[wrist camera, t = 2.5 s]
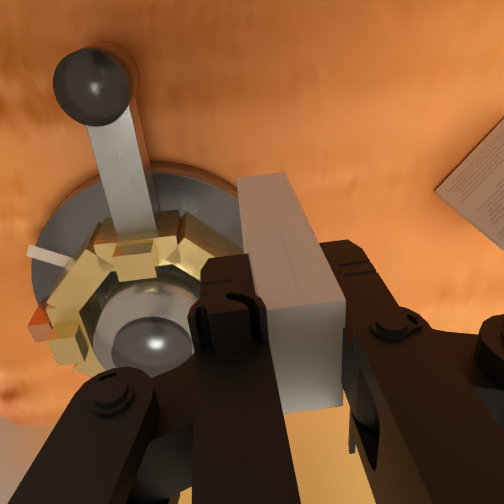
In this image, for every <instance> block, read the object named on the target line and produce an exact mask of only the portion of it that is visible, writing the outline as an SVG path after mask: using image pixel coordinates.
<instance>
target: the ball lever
mask: <svg viewBox="0 0 504 504" xmlns="http://www.w3.org/2000/svg"><path fill="white" fill-rule="evenodd" d="M139 84H140V75H139V70H138V67H137V65H136V63H135V61H134V59H133V58H132V56H131V55H130V54H129V53H128V52H127V51H126V50H125V49H123V48H122V47H120V46H118V45H116V44H113V43H110V42H97V43H94V44H91V45H89V46H87V47H84V48H82V49H80V50H78V51H76V52H73V53H71V54H69V55H67V56H66V57H65V58H63V59H62V60H61V61H60V63H59V64H58V65H57V67H56V69H55V72H54V77H53V89H54V93H55V96H56V99H57V101H58V103H59V105H60V106H61V108H62V109H63V110H64V111H65V112H66V113H67V114H68V115H69V116H70V117H71V118H72V119H74V120H76V121H77V122H79V123H81V124H84V125H86V127H87V130H88V134H89V137H90V141H91V145H92V148H93V152H94V155H95V159H96V162H97V166H98V170H99V173H100V177H101V180H102V184H103V187H104V191H105V195H106V198H107V202H108V205H109V209H110V212H111V216H112V217H109V218H105V220H104V222H103V224H102V223H100V222H98V223H97V225H96V226H95V227H94V229H93V230H92V232H91V233H90V234H89V236H88V237H87V238H86V240H85V241H84V242H83V244H82V245H81V247H80V248H79V249H78V251H77V252H76V253H75V255H74V256H73V257H72V259H71V260H70V261H69V263H68V264H67V266H66V267H65V268H64V270H63V271H62V273H61V275H60V277H59V279H58V281H57V283H56V285H55V287H54V289H53V290H52V292H51V294H50V296H49V298H48V300H47V302H46V303H48V305H47V307H46V312H47V314H48V317H49V319H50V321H51V324H52V326H53V329H52V331H51V333H50V335H49V337H48V340H47V341H48V344H49V346H50V348H51V350H52V353H53V355H54V357H55V360H56V362H57V364H58V366H60V365H68V364H75V367H74V369H75V370H77V371H79V372H81V373H84V374H86V375H88V376H90V377H94V376H95V375H97V374H99V373H101V372H104V371H106V370H105V369H104V368H103V367H102V366H101V364H100V363H99V361H98V360H97V358H96V356H95V353H94V349H93V337H94V333H95V330H96V327H97V324H98V321H99V318H100V314H101V311H102V310H101V307H100V304H99V301H98V298H97V295H96V292H95V291H96V289H97V288H98V287H99V286H100V284H101V283H102V282H103V281H104V279H105V278H106V277H107V275H108V274H109V273H110V272H112V271H116V272H117V276H118V279H119V282H123V281H131V280H139V279H148V278H156V277H157V274H158V268H159V266H161V265H170V264H173V265H175V266H177V267H178V268H180V269H182V270H183V271H185V272H187V273H188V274H190V275H191V276H193V277H195V278H196V279H198V280H200V270H201V269H202V267H203V266H204V264H205V263H206V261H207V260H208V259H209V258H214V257H222V256H230V255H238V254H244V253H243V249H242V248H240V247H239V246H237V245H236V244H234V243H233V242H231V241H230V240H228V239H227V238H225V237H224V236H223V235H221V234H220V233H218V232H217V231H215V230H214V229H212V228H211V227H209V226H208V225H206V224H205V223H203V222H202V221H200V220H199V219H197V218H196V217H194V216H193V215H192V214H190V213H189V212H186V213H185V214H184V215H183V217H182V218H181V217H180V212H179V209H178V210H169V211H161V212H160V209H159V205H158V200H157V195H156V191H155V186H154V181H153V177H152V172H151V167H150V163H149V158H148V153H147V149H146V144H145V139H144V135H143V130H142V125H141V121H140V116H139V111H138V107H137V102H136V97H135V95H136V93H137V91H138V88H139Z"/></svg>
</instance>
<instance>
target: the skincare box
mask: <svg viewBox="0 0 504 504" xmlns="http://www.w3.org/2000/svg"><path fill="white" fill-rule="evenodd" d="M435 193H436V194H437V195H438V196H439V197H440V198H441V199H442V200H443V201H445V202H446V203H447V204H448V205H449V206H450V207H452V208H453V209H454V210H455V211H456V212H458V213H459V214H460V215H461V216H462V217H464V218H465V219H466V220H467V221H468V222H470V223H471V224H472V225H473V226H474V227H476V228H477V229H478V230H479V231H480V232H481V233H483V234H484V235H485V236H486V237H487V238H489V239H490V240H491V241H492V242H493V243H495V244H496V245H497V246H498V247H499V248H501V249H502V250H503V251H504V119H503V120H502V121H501V122H500V123H499V124H498V125H497V126H496V127H495V128H494V129H493V131H492V132H491V133H490V134H489V135H488V136H487V137H486V138H485V139H484V140H483V141H482V142H481V143H480V144H479V145H478V146H477V147H476V148H475V149H474V150H473V151H472V153H471V154H470V155H469V156H468V157H467V158H466V159H465V160H464V161H463V162H462V163H461V164H460V165H459V166H458V167H457V168H456V169H455V170H454V171H453V172H452V173H451V174H450V176H449V177H448V178H447V179H446V180H445V181H444V182H443V183H442V184H441V185H440V186H439V187H438V188H437V189H436V190H435Z"/></svg>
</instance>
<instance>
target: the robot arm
mask: <svg viewBox="0 0 504 504" xmlns="http://www.w3.org/2000/svg"><path fill="white" fill-rule="evenodd" d="M236 182H237V191H238V200H239V209H240V218H241V227H242V236H243V245H244V254H238V255H230V256H222V257H214V258H209V259H208V260H207V261H206V263H205V264H204V266H203V267H202V269H201V270H200V285H201V286H200V299H198V300H197V301H196V302H195V303H194V304H193V305H192V306H191V307H190V310H189V313H188V316H187V319H188V324H189V329H190V334H191V339H192V344H193V348H194V353H193V354H192V355H191V356H190V358H189V359H188V360H186V361H185V362H184V363H182V364H181V365H180V366H178V367H176V368H174V369H172V370H170V371H167V372H165V373H162V374H160V375H157V376H155V377H152V378H150V376H149V375H148V374H146V373H145V372H144V371H142V370H141V369H137V368H133V367H119V368H112V369H109V370H107V371H104V372H101V373H99V374H97V375H95V376H94V377H92V378H91V379H90V380H88V381H87V382H85V383H84V384H83V385H82V386H81V388H80V389H79V390H78V391H77V392H76V393H75V395H74V396H73V398H72V399H71V401H70V403H69V404H68V406H67V408H66V409H65V411H64V412H63V414H62V416H61V417H60V419H59V421H58V422H57V424H56V425H55V427H54V429H53V431H52V432H51V434H50V435H49V437H48V439H47V440H46V442H45V443H44V445H43V447H42V448H41V450H40V452H39V453H38V455H37V457H36V458H35V460H34V461H33V463H32V465H31V466H30V468H29V470H28V471H27V473H26V475H25V476H24V478H23V479H22V481H21V483H20V484H19V486H18V487H17V489H16V491H15V492H14V494H13V496H12V497H11V499H10V500H9V502H8V504H178V501H179V497H180V492H181V491H184V490H186V489H187V488H189V487H192V504H301V501H300V497H299V491H298V486H297V481H296V476H295V471H294V466H293V461H292V456H291V451H290V446H289V440H288V436H287V431H286V425H285V420H284V415H283V414H288V413H295V412H303V411H309V410H316V409H324V408H331V407H338V406H343V389H344V391H345V394H346V397H347V400H348V403H349V405H350V419H349V442H348V444H349V453H350V454H352V453H355V443H356V446H357V449H358V452H359V455H360V458H361V461H362V464H363V467H364V470H365V473H366V476H367V479H368V481H369V484H370V487H371V490H372V493H373V496H374V499H375V502H376V504H504V314H502V315H496V316H492V317H490V318H489V319H487V320H485V321H483V323H482V326H481V328H480V330H479V335H476V334H465V333H454V332H446V331H440V330H435V329H432V328H431V327H430V325H429V324H428V323H427V322H426V321H425V320H424V319H423V318H422V317H421V316H420V315H419V314H418V313H416V312H414V311H411V310H409V309H407V308H404V307H400V306H399V305H398V304H397V302H396V301H395V299H394V297H393V296H392V294H391V293H390V291H389V290H388V288H387V287H386V285H385V283H384V282H383V280H382V279H381V277H380V276H379V274H378V273H376V269H375V268H374V266H373V265H372V263H370V260H369V259H368V257H367V255H366V254H365V252H364V251H363V249H362V248H360V247H359V246H357V245H356V244H354V243H352V242H351V241H349V240H340V241H332V242H323V243H318V240H317V238H316V236H315V234H314V232H313V230H312V228H311V226H310V224H309V222H308V220H307V217H306V215H305V213H304V211H303V209H302V207H301V205H300V203H299V201H298V199H297V197H296V195H295V192H294V190H293V188H292V186H291V184H290V182H289V180H288V178H287V176H286V174H285V172H284V173H275V174H266V175H258V176H249V177H241V178H236Z"/></svg>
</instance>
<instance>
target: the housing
mask: <svg viewBox="0 0 504 504" xmlns="http://www.w3.org/2000/svg"><path fill="white" fill-rule="evenodd" d="M149 163H150V167H151V172H152V177H153V181H154V186H155V191H156V195H157V200H158V205H159V209H160V212H161V211H169V210H178V209H179V212H180V217H181V218H182V217H183V215H184V214H185V213H186V212H189V213H190V214H192V215H193V216H194V217H196V218H197V219H199V220H200V221H202V222H203V223H205V224H206V225H208V226H209V227H211V228H212V229H214V230H215V231H217V232H218V233H220V234H221V235H223V236H224V237H225V238H227V239H228V240H230V241H231V242H233V243H234V244H236V245H237V246H239V247H240V248H242V249H243V253H244V245H243V236H242V227H241V218H240V209H239V200H238V191H237V188H236V187H234V186H233V185H231V184H230V183H228V182H227V181H225V180H224V179H222V178H220V177H217V176H215V175H213V174H211V173H209V172H207V171H204V170H201V169H198V168H195V167H191V166H187V165H182V164H177V163H167V162H149ZM109 217H112V216H111V212H110V209H109V205H108V202H107V198H106V195H105V191H104V187H103V184H102V180H101V177H100V174H98V175H96V176H94V177H92V178H90V179H89V180H87V181H86V182H84V183H83V184H81V185H80V186H78V187H77V188H76V189H75V190H74V191H72V192H71V193H70V194H69V195H68V196H67V197H66V198H65V199H64V201H63V202H62V203H61V204H60V206H59V207H58V208H57V209H56V211H55V212H54V214H53V215H52V217H51V218H50V220H49V221H48V222H47V224H46V226H45V227H44V229H43V231H42V233H41V234H40V236H39V238H38V241H37V244H36V245H33V244H29V247H28V251H27V255H26V256H29V257H32V258H33V260H32V284H33V289H34V294H35V297H36V300H37V303H38V307H37V309H36V311H35V313H34V315H33V317H32V319H31V321H30V322H29V324H28V326H27V327H28V329H29V331H30V333H31V335H32V337H33V339H34V341H35V342H42V341H47V340H48V337H49V335H50V333H51V331H52V329H53V326H52V324H51V321H50V319H49V317H48V314H47V312H46V307H47V305H48V303H46V302H47V300H48V298H49V296H50V294H51V292H52V290H53V289H54V287H55V285H56V283H57V281H58V279H59V277H60V275H61V273H62V271H63V270H64V268H65V267H66V266H67V264H68V263H69V261H70V260H71V259H72V257H73V256H74V255H75V253H76V252H77V251H78V249H79V248H80V247H81V245H82V244H83V242H84V241H85V240H86V238H87V237H88V236H89V234H90V233H91V232H92V230H93V229H94V227H95V226H96V225H97V223H98V222H100V223H102V224H103V222H104V220H105V218H109ZM200 286H201V285H200V280H198V279H196V278H195V277H193V276H191V275H190V274H188V273H187V272H185V271H183V270H182V269H180V268H178V267H177V266H175V265H173V264H170V265H161V266H159V268H158V274H157V277H156V278H148V279H139V280H131V281H123V282H119V279H118V276H117V272H116V271H112V272H110V273H109V274H108V275H107V277H106V278H105V279H104V281H103V282H102V283H101V284H100V286H99V287H98V288H97V289H96V291H95V292H96V295H97V298H98V301H99V304H100V307H101V310H102V311H101V314H100V318H99V321H98V324H97V327H96V330H95V333H94V337H93V349H94V353H95V356H96V358H97V360H98V361H99V363H100V364H101V366H102V367H103V368H104V369H105V370H106V371H107V370H109V369H112V368H119V367H133V368H137V369H141V370H142V371H144V372H145V373H146V374H148V375H149V376H150V378H152V377H155V376H157V375H160V374H162V373H165V372H167V371H170V370H172V369H174V368H176V367H178V366H180V365H181V364H182V363H184V362H185V361H186V360H188V359H189V358H190V356H191V355H192V354H193V353H194V348H193V344H192V339H191V334H190V329H189V324H188V319H187V316H188V313H189V310H190V307H191V306H192V305H193V304H194V303H195V302H196V301H197V300H198V299H200Z"/></svg>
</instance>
